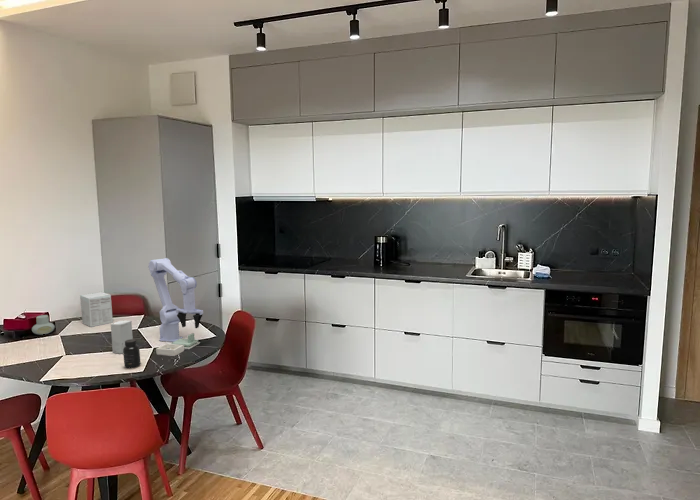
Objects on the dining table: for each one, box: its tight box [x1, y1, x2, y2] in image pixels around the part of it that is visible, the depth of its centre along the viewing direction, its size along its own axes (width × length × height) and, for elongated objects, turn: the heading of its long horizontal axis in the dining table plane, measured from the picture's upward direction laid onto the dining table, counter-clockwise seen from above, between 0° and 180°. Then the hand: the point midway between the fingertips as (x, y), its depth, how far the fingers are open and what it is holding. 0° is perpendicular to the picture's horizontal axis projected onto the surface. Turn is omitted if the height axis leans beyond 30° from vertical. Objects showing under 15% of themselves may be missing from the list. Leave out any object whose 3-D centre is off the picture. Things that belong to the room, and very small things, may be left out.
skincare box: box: [110, 319, 134, 355], centre depth 243 cm, size 8×6×15 cm
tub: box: [155, 343, 185, 357], centre depth 240 cm, size 10×8×3 cm
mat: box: [184, 341, 201, 350], centre depth 252 cm, size 12×10×1 cm
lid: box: [170, 332, 199, 347], centre depth 251 cm, size 10×8×6 cm
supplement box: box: [79, 291, 114, 328], centre depth 295 cm, size 13×13×18 cm
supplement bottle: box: [122, 338, 141, 369], centre depth 222 cm, size 7×7×12 cm
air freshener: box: [31, 314, 56, 336], centre depth 275 cm, size 11×8×10 cm
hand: (190, 327), depth 251 cm, fingers open, 7 cm apart
